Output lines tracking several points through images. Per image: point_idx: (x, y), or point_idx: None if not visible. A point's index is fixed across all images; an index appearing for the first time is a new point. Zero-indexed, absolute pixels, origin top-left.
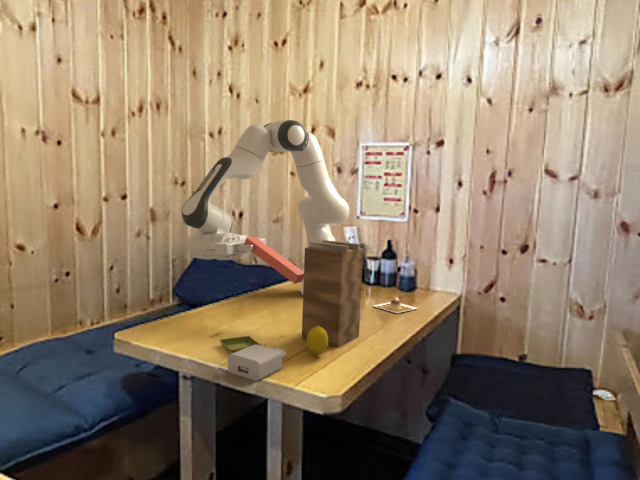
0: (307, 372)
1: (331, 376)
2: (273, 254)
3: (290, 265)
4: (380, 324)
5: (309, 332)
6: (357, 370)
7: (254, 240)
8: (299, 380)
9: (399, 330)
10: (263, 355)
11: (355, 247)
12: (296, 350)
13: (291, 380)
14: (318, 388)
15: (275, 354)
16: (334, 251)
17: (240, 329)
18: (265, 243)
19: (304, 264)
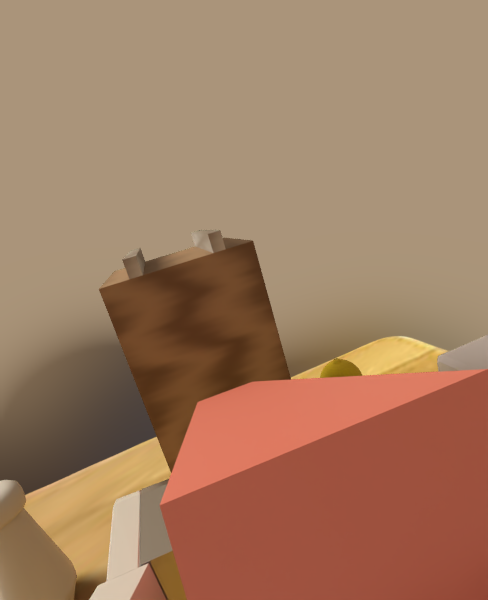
0: (398, 373)
1: (367, 363)
2: (254, 392)
3: (227, 394)
4: (55, 537)
5: (357, 370)
6: (319, 371)
7: (315, 406)
8: (422, 358)
9: (85, 485)
10: (480, 342)
11: (143, 257)
12: None
13: (435, 359)
14: (402, 344)
15: (454, 349)
16: (224, 239)
17: None
18: (120, 498)
19: (267, 295)
